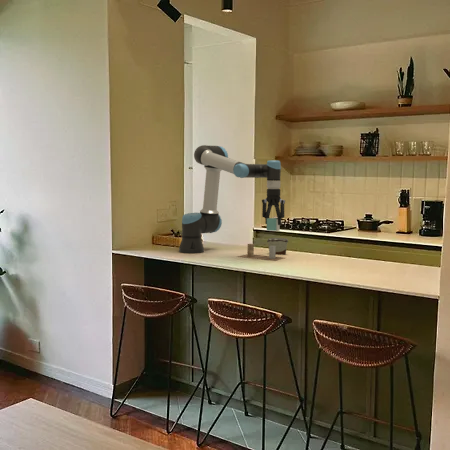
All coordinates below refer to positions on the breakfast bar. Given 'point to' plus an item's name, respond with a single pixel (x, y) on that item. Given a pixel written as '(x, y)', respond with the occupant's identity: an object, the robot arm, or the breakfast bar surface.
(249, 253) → the post
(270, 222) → the teal rectangular block
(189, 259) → the breakfast bar surface
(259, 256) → the board
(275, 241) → the food container
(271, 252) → the post
